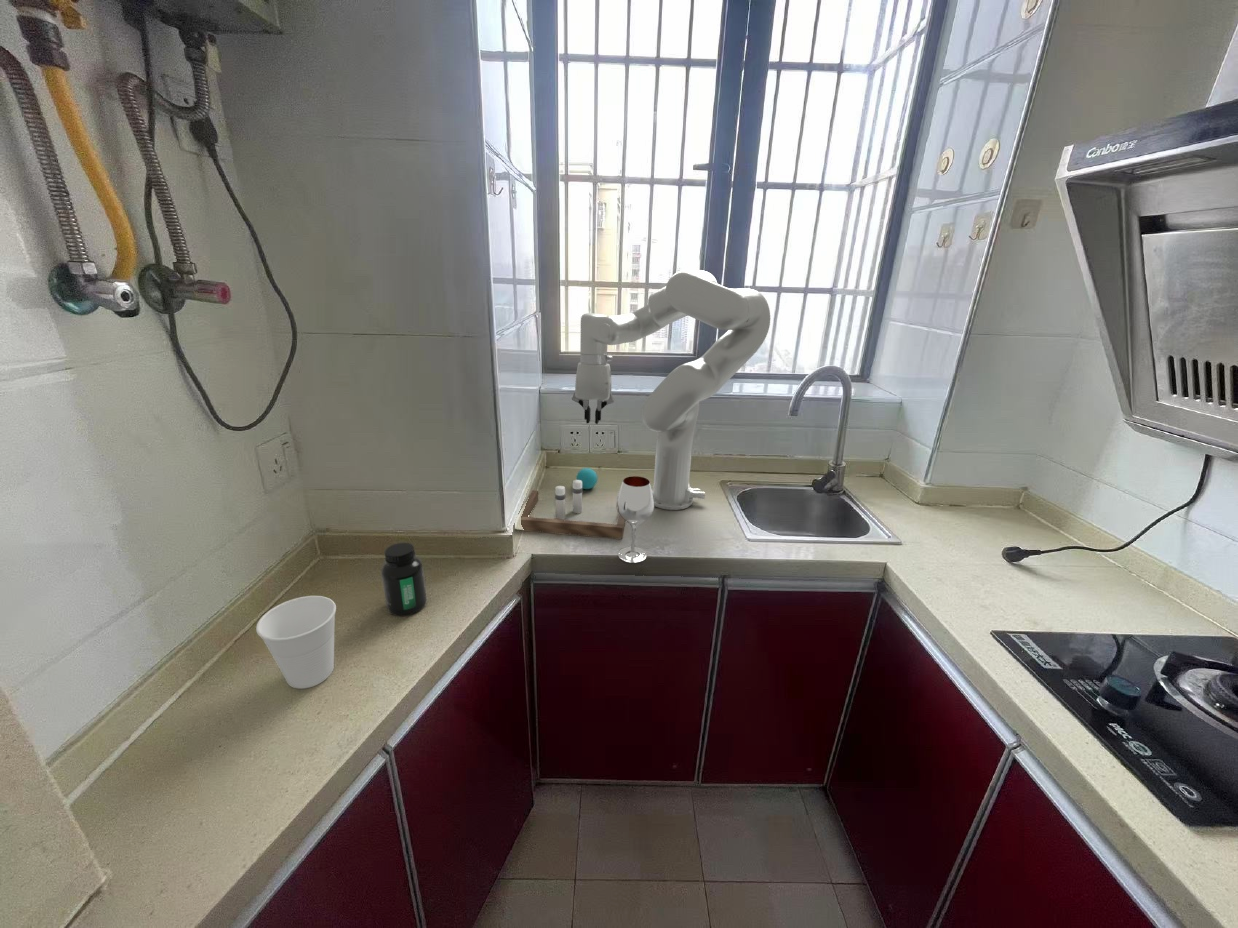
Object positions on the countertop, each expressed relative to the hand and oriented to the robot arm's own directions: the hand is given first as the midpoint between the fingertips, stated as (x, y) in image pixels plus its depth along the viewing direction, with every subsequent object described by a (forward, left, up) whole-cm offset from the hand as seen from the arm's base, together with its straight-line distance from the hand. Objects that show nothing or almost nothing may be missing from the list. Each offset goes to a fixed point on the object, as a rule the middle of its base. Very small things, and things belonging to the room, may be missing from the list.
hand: (592, 421), depth 147 cm
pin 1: (+4, +29, -17) cm, 34 cm away
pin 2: (0, +24, -17) cm, 30 cm away
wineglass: (-16, +44, -17) cm, 49 cm away
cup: (+30, +86, -17) cm, 92 cm away
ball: (0, +10, -14) cm, 17 cm away
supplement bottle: (+24, +68, -17) cm, 74 cm away
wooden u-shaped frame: (0, +28, -17) cm, 32 cm away
